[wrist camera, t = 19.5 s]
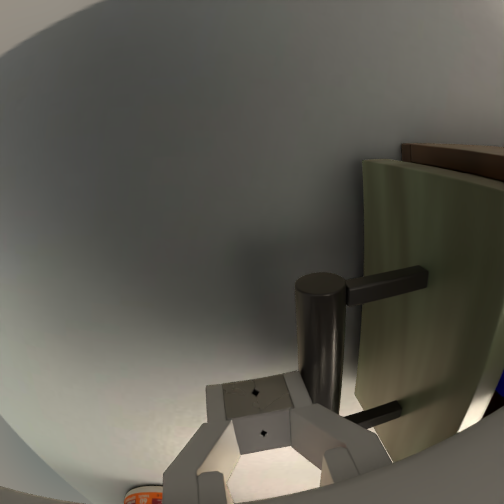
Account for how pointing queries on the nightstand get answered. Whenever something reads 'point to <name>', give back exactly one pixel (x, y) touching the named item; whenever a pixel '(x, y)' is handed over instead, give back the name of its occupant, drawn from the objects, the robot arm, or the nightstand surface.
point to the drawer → (414, 307)
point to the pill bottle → (144, 495)
